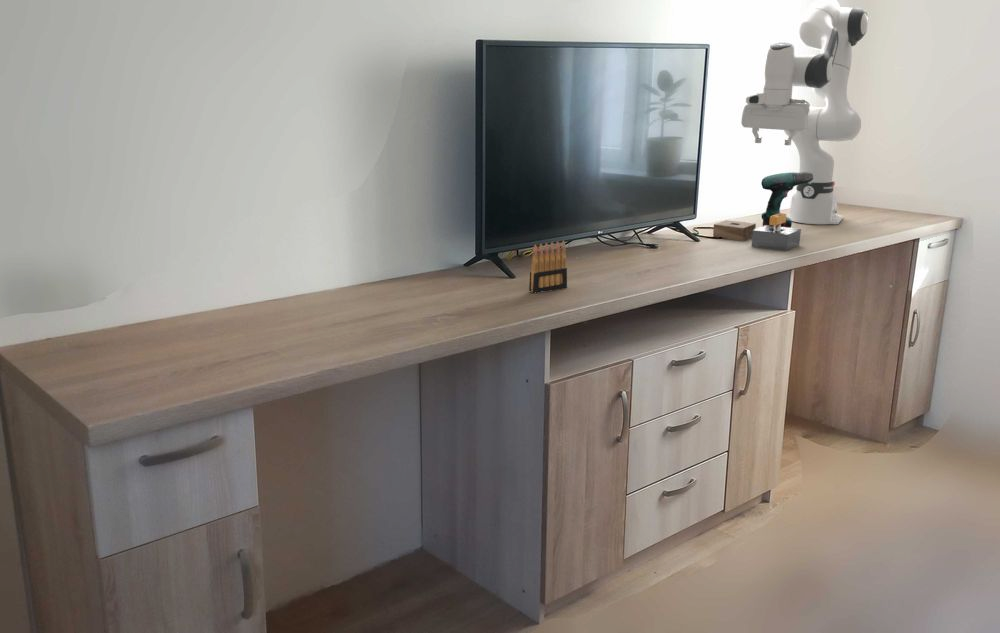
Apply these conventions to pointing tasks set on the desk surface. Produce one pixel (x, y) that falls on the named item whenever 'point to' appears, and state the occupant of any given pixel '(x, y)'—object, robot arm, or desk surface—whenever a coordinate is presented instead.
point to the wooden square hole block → (734, 230)
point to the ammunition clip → (548, 268)
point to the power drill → (781, 192)
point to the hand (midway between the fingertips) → (772, 144)
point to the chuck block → (776, 238)
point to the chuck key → (777, 220)
